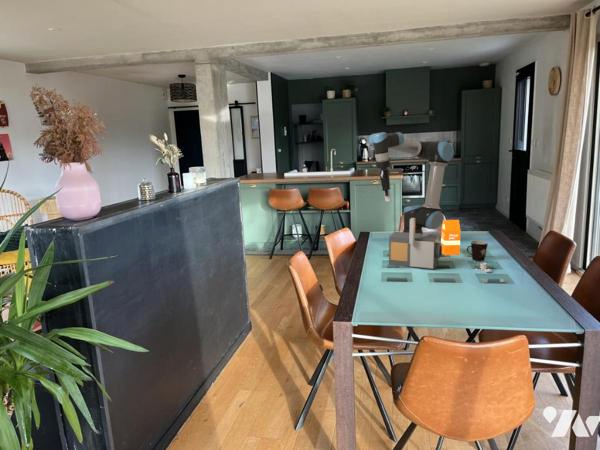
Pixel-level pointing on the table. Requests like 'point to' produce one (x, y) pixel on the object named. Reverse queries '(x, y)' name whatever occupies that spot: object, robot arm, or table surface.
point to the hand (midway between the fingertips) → (388, 201)
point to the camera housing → (401, 248)
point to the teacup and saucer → (484, 267)
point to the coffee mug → (478, 250)
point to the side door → (420, 250)
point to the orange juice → (450, 237)
